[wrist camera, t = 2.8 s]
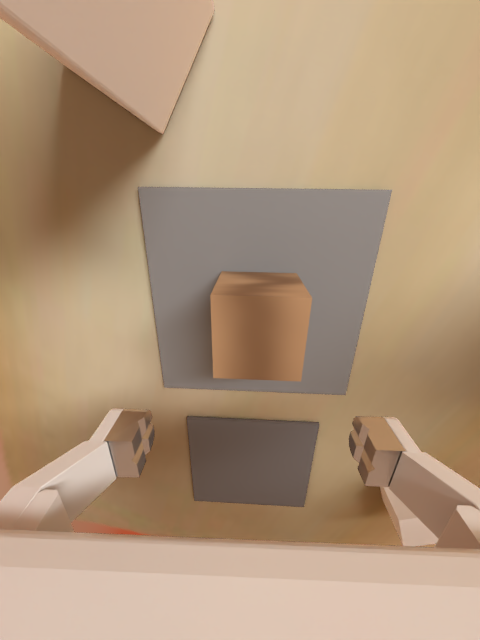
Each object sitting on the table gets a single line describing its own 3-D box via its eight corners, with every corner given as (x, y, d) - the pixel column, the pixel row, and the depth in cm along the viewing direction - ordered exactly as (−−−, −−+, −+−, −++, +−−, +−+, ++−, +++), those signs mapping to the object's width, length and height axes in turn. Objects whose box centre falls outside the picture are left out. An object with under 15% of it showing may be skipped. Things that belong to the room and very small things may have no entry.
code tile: (389, 190, 18) (392, 189, 18) (344, 393, 26) (345, 395, 25) (139, 187, 19) (137, 186, 19) (165, 385, 26) (164, 388, 26)
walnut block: (296, 273, 21) (312, 297, 15) (289, 339, 23) (300, 381, 18) (221, 271, 21) (210, 295, 15) (222, 337, 23) (213, 378, 18)
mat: (318, 422, 27) (319, 424, 27) (303, 504, 33) (303, 507, 33) (187, 416, 28) (186, 418, 28) (194, 498, 34) (194, 500, 33)
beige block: (422, 464, 29) (453, 512, 25) (425, 492, 31) (454, 541, 27) (376, 472, 30) (398, 520, 26) (382, 498, 32) (403, 547, 28)
